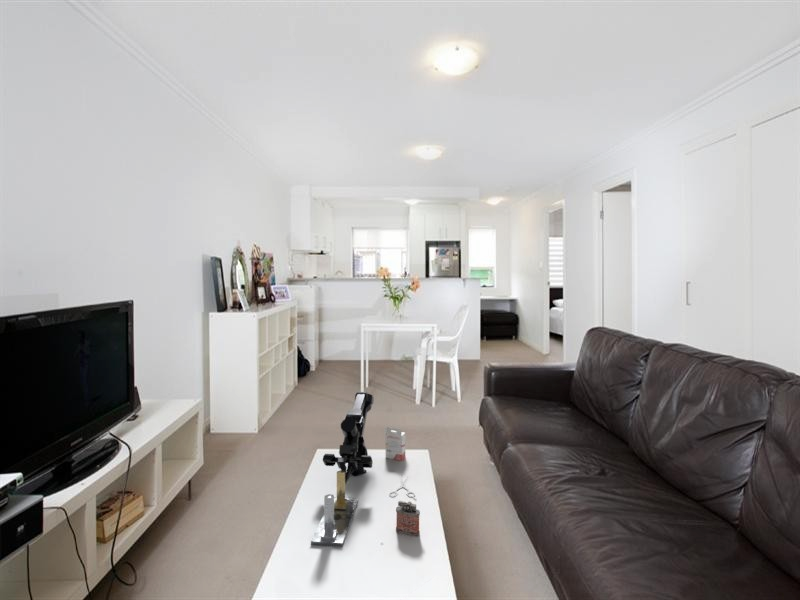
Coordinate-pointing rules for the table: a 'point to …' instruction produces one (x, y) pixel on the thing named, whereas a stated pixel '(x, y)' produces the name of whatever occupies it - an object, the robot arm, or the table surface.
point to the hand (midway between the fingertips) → (344, 483)
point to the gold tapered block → (340, 491)
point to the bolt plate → (334, 523)
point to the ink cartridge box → (395, 443)
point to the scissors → (404, 488)
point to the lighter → (407, 519)
